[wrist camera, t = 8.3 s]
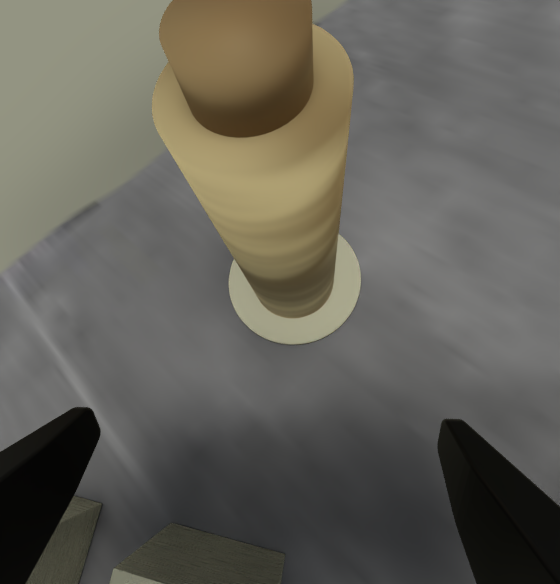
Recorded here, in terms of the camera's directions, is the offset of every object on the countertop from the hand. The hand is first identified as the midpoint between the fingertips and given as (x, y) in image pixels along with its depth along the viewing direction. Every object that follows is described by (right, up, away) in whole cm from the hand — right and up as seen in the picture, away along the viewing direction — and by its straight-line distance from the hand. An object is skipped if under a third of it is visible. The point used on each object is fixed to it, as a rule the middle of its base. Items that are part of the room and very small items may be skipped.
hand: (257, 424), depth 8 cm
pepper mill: (+1, +4, +12) cm, 12 cm away
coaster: (+1, +4, +12) cm, 13 cm away
